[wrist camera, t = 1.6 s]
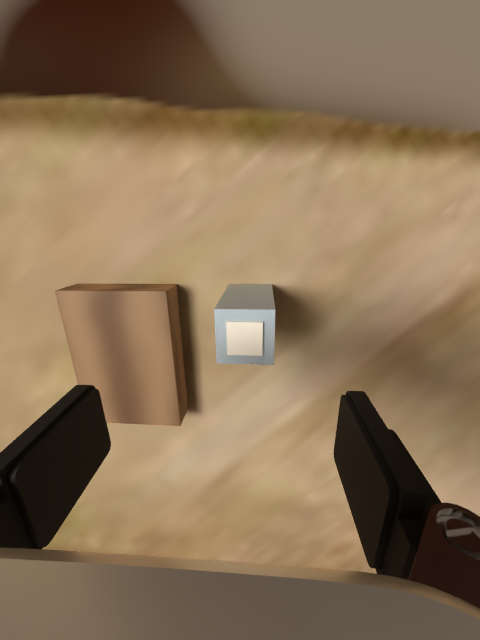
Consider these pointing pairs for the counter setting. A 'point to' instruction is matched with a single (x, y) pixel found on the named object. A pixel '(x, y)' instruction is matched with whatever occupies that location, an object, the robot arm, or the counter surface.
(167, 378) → the brown box
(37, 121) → the counter surface
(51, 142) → the counter surface
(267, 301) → the block
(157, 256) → the counter surface
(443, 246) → the counter surface
